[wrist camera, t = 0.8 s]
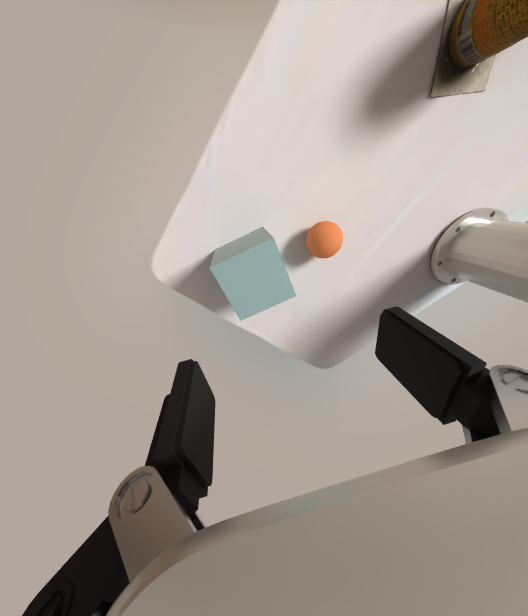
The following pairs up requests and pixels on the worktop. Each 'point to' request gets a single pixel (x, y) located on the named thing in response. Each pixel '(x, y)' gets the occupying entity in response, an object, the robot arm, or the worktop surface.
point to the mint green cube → (252, 273)
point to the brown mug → (476, 42)
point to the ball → (324, 239)
